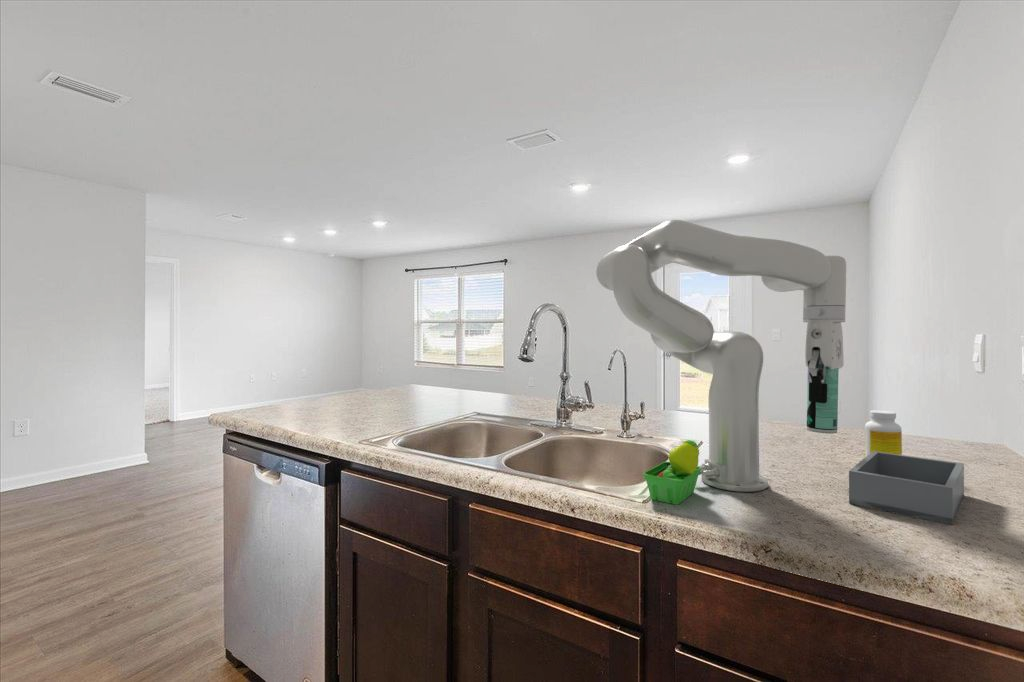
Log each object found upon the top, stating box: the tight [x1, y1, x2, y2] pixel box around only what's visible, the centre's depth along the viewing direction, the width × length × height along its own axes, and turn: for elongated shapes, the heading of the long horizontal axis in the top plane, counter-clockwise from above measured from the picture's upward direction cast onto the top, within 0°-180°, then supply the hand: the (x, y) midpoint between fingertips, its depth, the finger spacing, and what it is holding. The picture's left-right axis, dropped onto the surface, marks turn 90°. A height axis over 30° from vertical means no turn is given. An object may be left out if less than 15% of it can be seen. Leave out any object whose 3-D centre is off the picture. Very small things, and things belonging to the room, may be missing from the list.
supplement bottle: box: [864, 409, 903, 458], centre depth 110 cm, size 7×7×13 cm
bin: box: [848, 451, 965, 526], centre depth 90 cm, size 20×14×6 cm
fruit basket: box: [643, 439, 701, 506], centre depth 93 cm, size 11×9×11 cm
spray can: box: [806, 352, 840, 435], centre depth 102 cm, size 6×6×20 cm
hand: (822, 400), depth 102 cm, fingers closed on spray can, 5 cm apart
